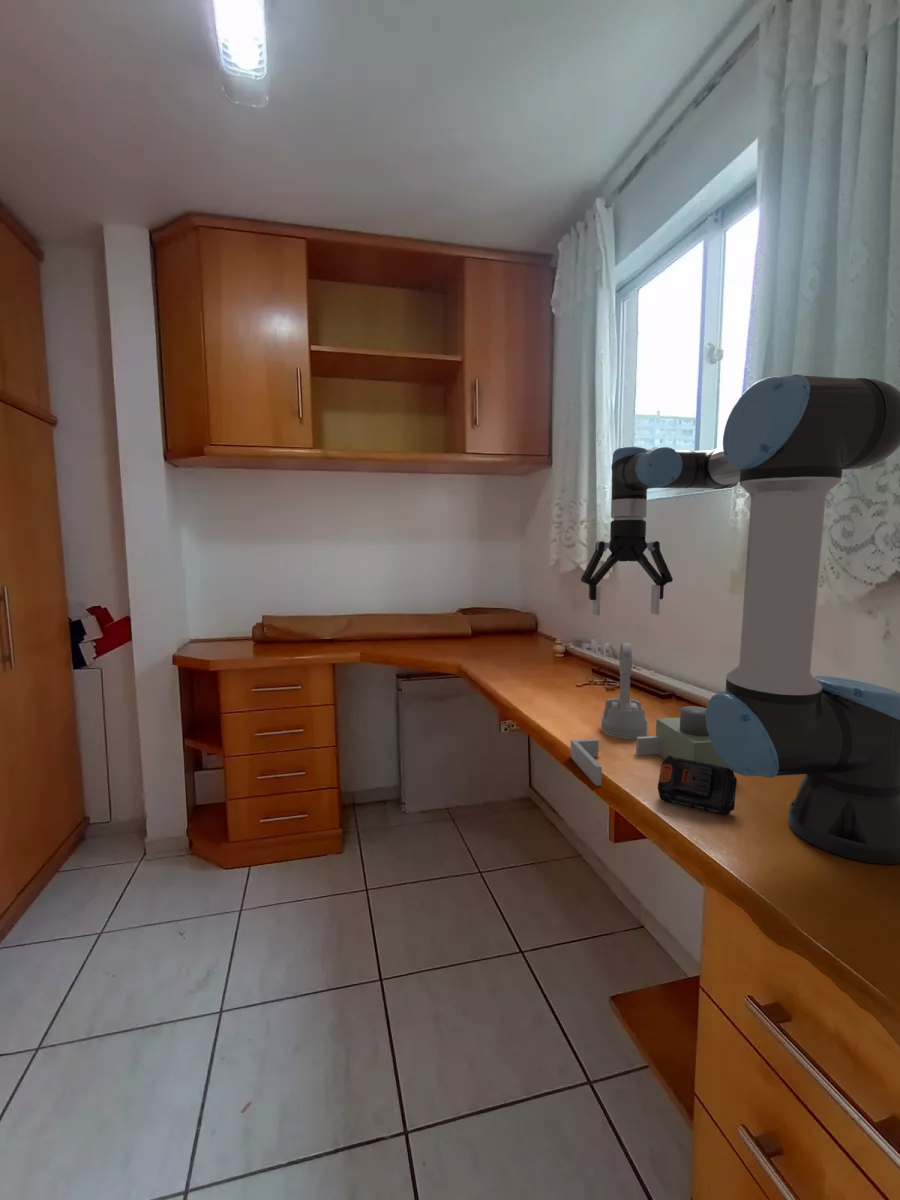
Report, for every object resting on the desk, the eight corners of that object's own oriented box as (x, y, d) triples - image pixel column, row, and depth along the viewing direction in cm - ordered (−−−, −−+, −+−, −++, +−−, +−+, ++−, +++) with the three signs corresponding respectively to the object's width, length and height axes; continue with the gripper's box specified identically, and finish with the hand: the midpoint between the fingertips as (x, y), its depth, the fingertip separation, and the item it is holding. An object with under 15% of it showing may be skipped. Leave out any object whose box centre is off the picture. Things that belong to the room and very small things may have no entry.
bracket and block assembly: (733, 777, 102) (736, 719, 101) (596, 785, 99) (597, 726, 97) (691, 749, 116) (693, 698, 114) (569, 755, 112) (570, 703, 111)
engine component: (602, 737, 123) (650, 740, 121) (605, 647, 121) (653, 648, 119) (599, 721, 134) (643, 724, 132) (601, 638, 131) (645, 640, 129)
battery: (655, 802, 96) (651, 792, 90) (667, 757, 99) (663, 745, 94) (731, 828, 89) (731, 818, 84) (741, 779, 92) (741, 767, 87)
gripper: (674, 520, 127) (671, 611, 129) (568, 520, 125) (566, 612, 127) (691, 518, 119) (687, 615, 121) (578, 518, 118) (576, 617, 120)
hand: (625, 614), depth 124 cm, fingers open, 13 cm apart
